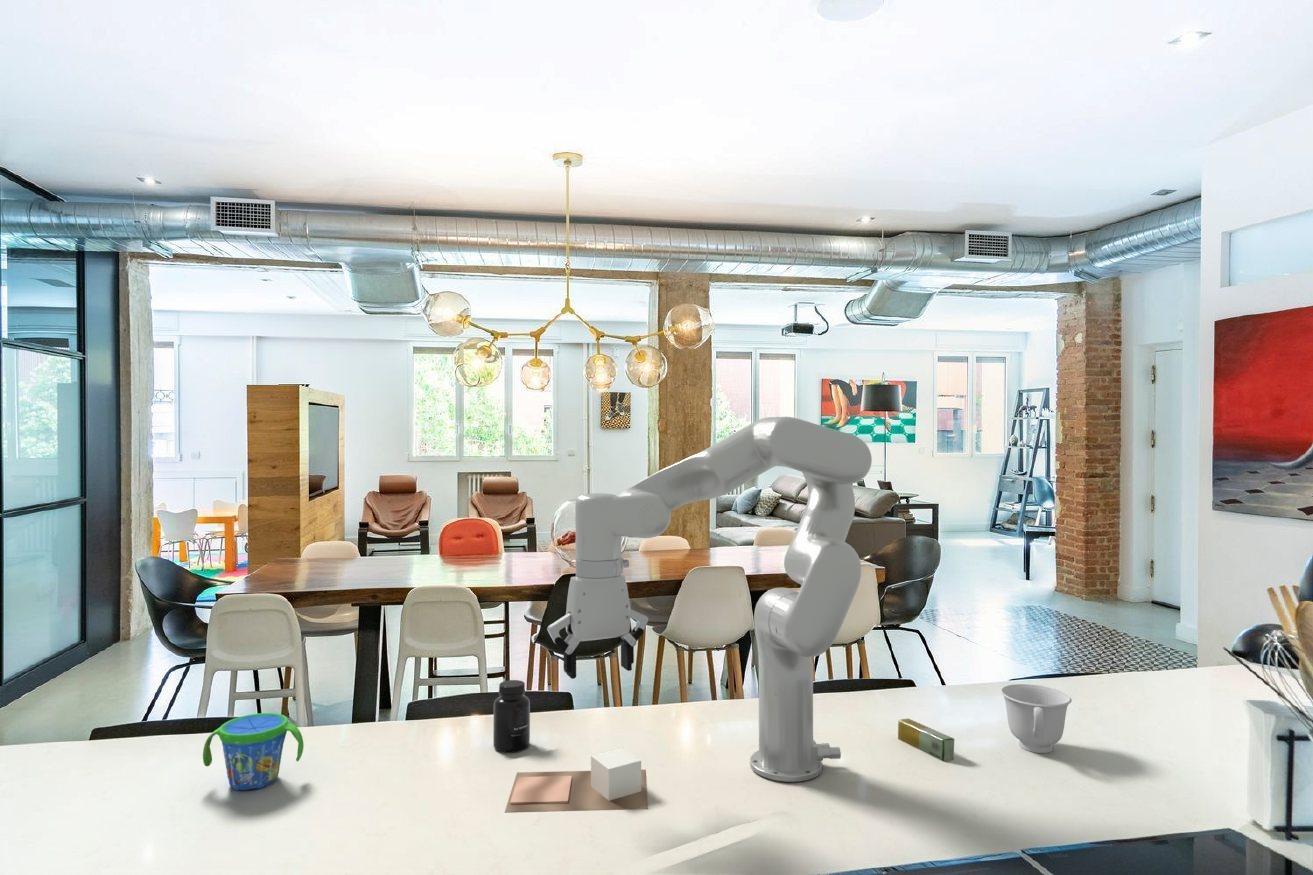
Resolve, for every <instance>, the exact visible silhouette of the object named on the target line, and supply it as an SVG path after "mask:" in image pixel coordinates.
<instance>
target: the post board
mask: <svg viewBox="0 0 1313 875" xmlns="http://www.w3.org/2000/svg"><path fill="white" fill-rule="evenodd" d="M648 801H649V800H648V788H647V771H646V769H641V791H640V792H637V793H634V794H630V795H627V796H623V797H620V798H616V799H613V800H610V801H609V800H607V799H606V798H605V797H604V796H602V795H601V794H600V793H599V792H598V791H596V790H595V789H594V788H593V787H591V770H572V771H571V770H566V771H565V770H564V771H563V770H562V771H525V772H524V771H521V772H520V771H519V772H516V774H515V779H514V781H513V785H512V787H511V790H510V794H509V797H508V800H507V803H506V806H505V810H504V813H538V812H541V813H542V812H543V813H544V812H577V811H578V812H582V811H585V812H586V811H616V810H620V811H623V810H648V809H649V803H648Z"/></svg>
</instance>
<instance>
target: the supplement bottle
mask: <svg viewBox="0 0 1313 875" xmlns="http://www.w3.org/2000/svg"><path fill="white" fill-rule="evenodd" d="M525 693H526V684H525V682H524V681H522V680H519V679H510V680H504V681H502V682H500V683H499V688H498V695H499V696H498V697H497V698H495V700H494V703H493V733H492V734H493V737H492V738H493V748H494V749H495V750H496V751H498V752H500V753H504V754H505V753H507V754H509V753H510V754H511V753H518V752H521V751H524V750H526V749H527V748H528V747H529V745H530V741H531V739H530V738H531V734H530V732H531V731H530V730H531V702H530V699H529V697H528V696H526V695H525Z"/></svg>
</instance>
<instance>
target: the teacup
mask: <svg viewBox="0 0 1313 875" xmlns="http://www.w3.org/2000/svg"><path fill="white" fill-rule="evenodd" d="M1000 694H1001V695H1002V696H1003V699H1004V704H1005V709H1006V718H1007V723H1008V727H1009V730H1010V733H1011V734H1012V735H1013V736H1014V737H1015V738H1016V739H1017V740H1019V741H1018V746H1019V747H1020V748H1021V749H1023V750H1025V751H1027V752H1030V753H1035V754H1048V753H1050V752H1053V745H1055V744H1057V743H1058V742H1059V741H1060V740H1061V739H1062V737H1063V734H1064V730H1065V724H1066V723H1065V722H1066V716H1067V711H1068V710H1067V709H1068V706H1069V705H1070V704H1071V702H1073V701H1072V700H1073V699H1072V697H1070V696H1069V695H1068V694H1067V693H1065V692H1063V691H1061V690H1058V689H1056V688H1053V687H1048V686H1045V685H1038V684H1036V685H1035V684H1027V683H1019V684H1018V683H1017V684H1016V683H1015V684H1009V685H1006V686H1003V688H1001V689H1000Z"/></svg>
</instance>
